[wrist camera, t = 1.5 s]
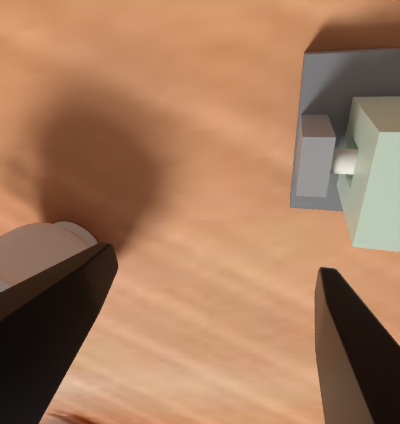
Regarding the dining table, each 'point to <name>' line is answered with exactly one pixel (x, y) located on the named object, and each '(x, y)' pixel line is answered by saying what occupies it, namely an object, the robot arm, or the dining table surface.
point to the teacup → (39, 249)
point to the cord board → (334, 118)
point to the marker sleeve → (373, 174)
